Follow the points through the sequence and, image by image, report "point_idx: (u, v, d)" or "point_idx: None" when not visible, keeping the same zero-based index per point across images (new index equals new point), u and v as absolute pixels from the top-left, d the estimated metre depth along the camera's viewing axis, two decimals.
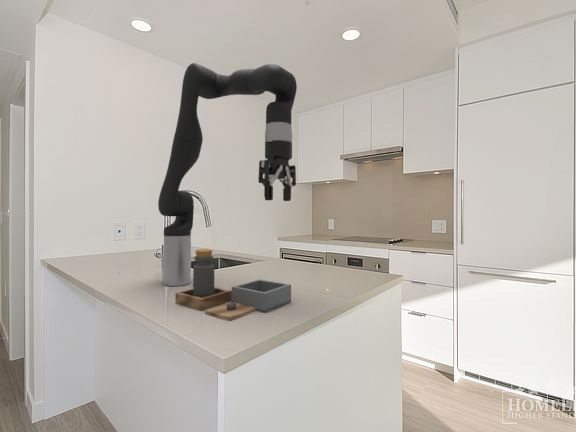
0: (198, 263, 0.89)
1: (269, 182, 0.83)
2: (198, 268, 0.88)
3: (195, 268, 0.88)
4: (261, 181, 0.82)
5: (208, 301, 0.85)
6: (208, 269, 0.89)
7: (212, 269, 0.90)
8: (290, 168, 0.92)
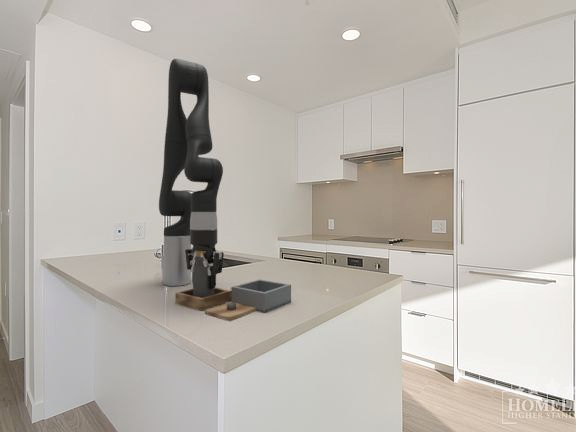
0: (198, 263, 0.89)
1: None
2: (198, 268, 0.88)
3: (195, 268, 0.88)
4: (217, 273, 0.87)
5: (208, 301, 0.85)
6: None
7: (212, 269, 0.90)
8: None
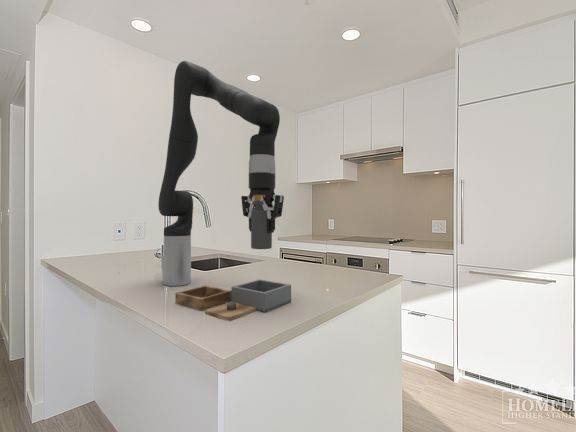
0: (257, 207, 0.88)
1: None
2: (258, 211, 0.87)
3: (254, 212, 0.87)
4: (277, 216, 0.86)
5: (208, 301, 0.85)
6: None
7: None
8: None
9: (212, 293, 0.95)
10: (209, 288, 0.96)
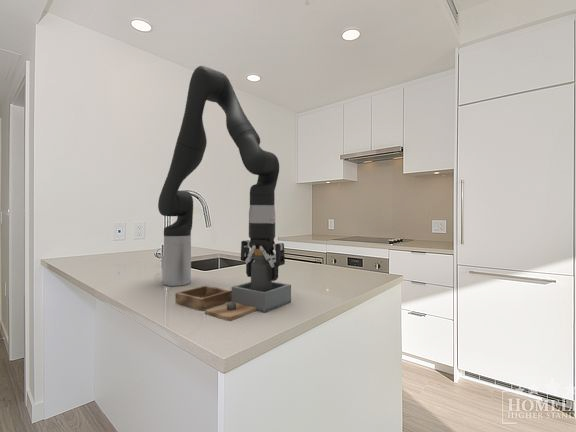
0: (257, 261, 0.88)
1: None
2: (257, 266, 0.87)
3: (254, 266, 0.88)
4: (281, 264, 0.86)
5: (208, 301, 0.85)
6: (267, 268, 0.88)
7: (270, 267, 0.89)
8: None
9: (212, 293, 0.95)
10: (209, 288, 0.96)
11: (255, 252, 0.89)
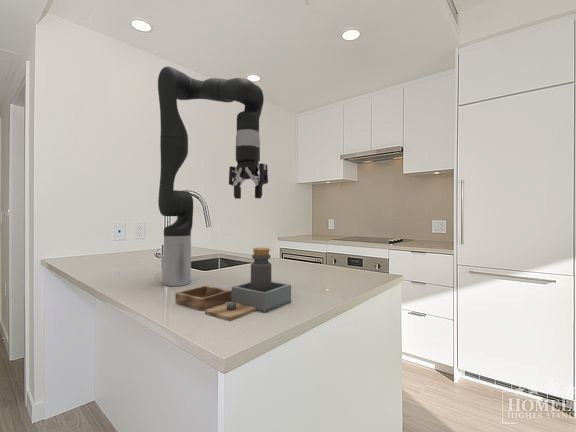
0: (256, 261, 0.88)
1: None
2: (257, 266, 0.87)
3: (254, 266, 0.88)
4: (264, 182, 0.95)
5: (208, 301, 0.85)
6: (267, 268, 0.88)
7: (270, 267, 0.89)
8: None
9: (212, 293, 0.95)
10: (209, 288, 0.96)
11: (255, 252, 0.89)
